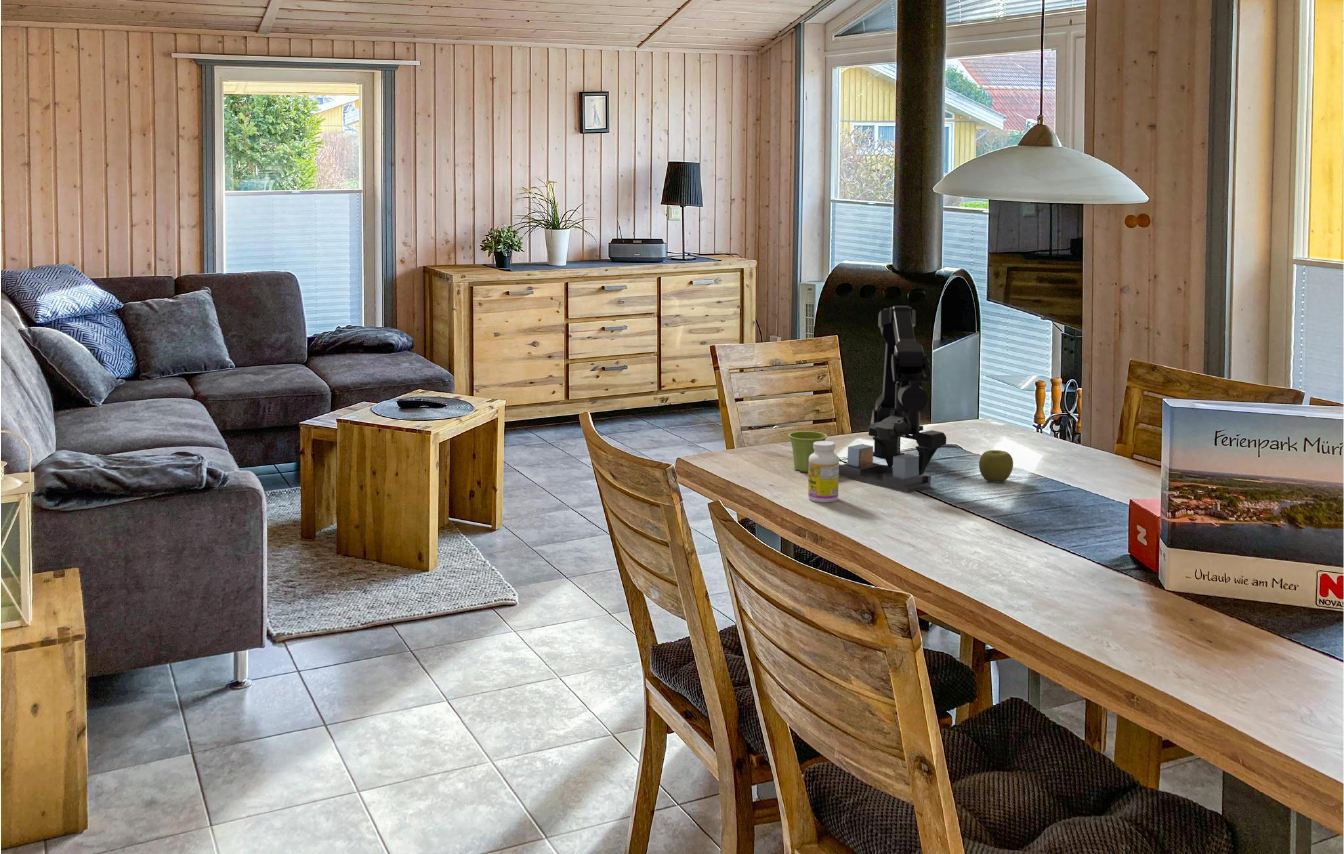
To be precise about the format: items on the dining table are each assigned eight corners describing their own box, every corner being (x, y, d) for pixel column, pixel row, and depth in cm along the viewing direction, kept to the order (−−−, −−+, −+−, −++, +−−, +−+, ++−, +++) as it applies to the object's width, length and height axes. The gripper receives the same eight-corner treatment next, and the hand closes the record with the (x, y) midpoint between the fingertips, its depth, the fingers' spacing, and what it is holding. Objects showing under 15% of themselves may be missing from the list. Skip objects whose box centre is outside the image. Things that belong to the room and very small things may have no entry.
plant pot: (826, 465, 299) (826, 431, 297) (827, 474, 289) (827, 439, 288) (788, 464, 299) (788, 430, 298) (788, 473, 290) (788, 438, 289)
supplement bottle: (805, 496, 269) (806, 440, 266) (834, 495, 269) (835, 439, 267) (811, 503, 262) (812, 446, 260) (841, 502, 263) (842, 445, 260)
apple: (994, 486, 276) (995, 456, 275) (970, 479, 283) (972, 450, 282) (1019, 483, 280) (1020, 453, 278) (995, 476, 286) (996, 446, 285)
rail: (859, 470, 293) (860, 441, 292) (930, 487, 276) (931, 456, 275) (836, 475, 288) (837, 445, 287) (907, 492, 271) (908, 461, 270)
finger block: (905, 478, 279) (906, 453, 278) (918, 481, 276) (919, 456, 275) (891, 481, 276) (891, 456, 275) (904, 484, 273) (905, 459, 272)
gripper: (853, 402, 275) (851, 468, 278) (916, 414, 261) (913, 483, 264) (885, 397, 282) (883, 461, 285) (949, 408, 268) (946, 476, 271)
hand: (905, 470), depth 276 cm, fingers open, 9 cm apart
